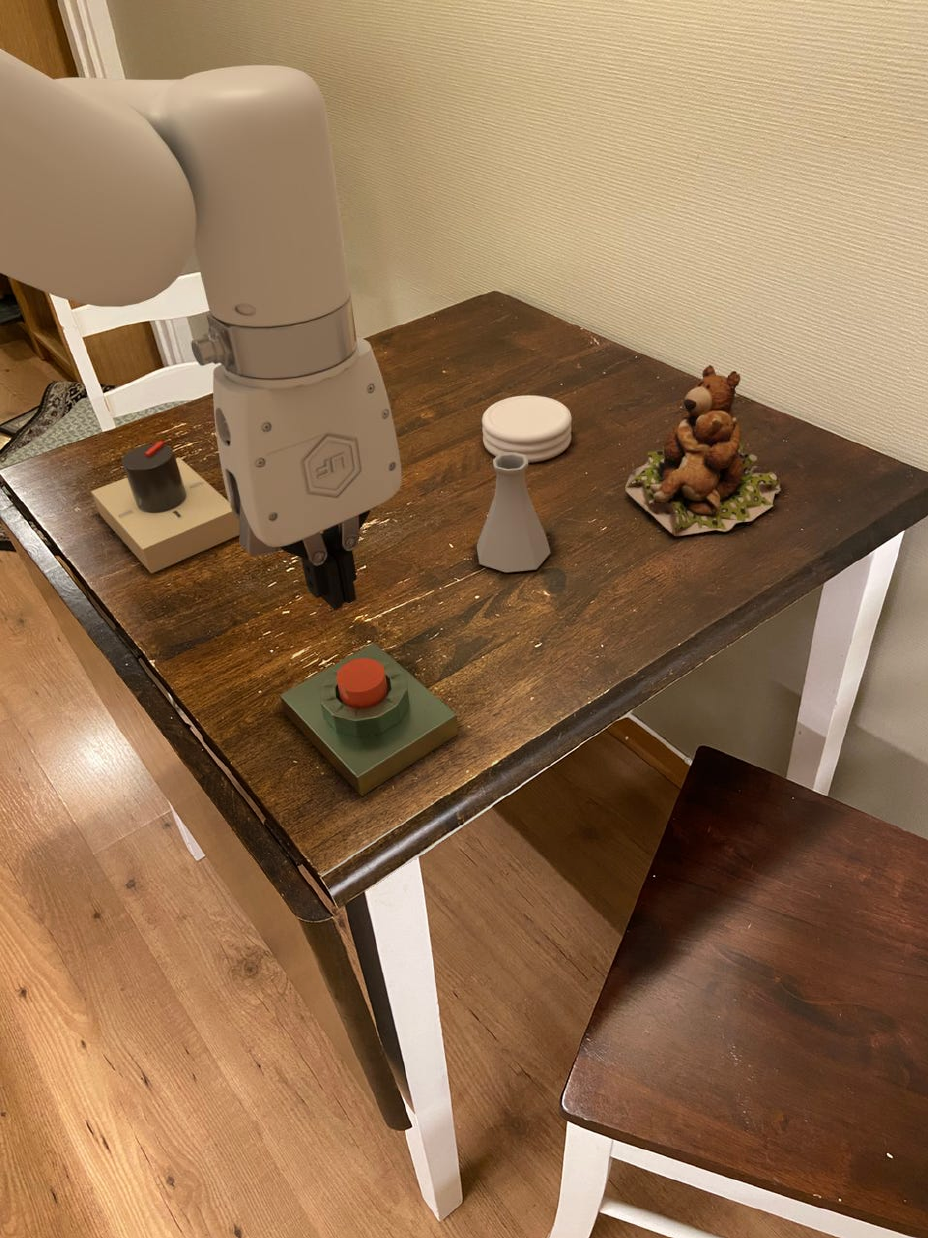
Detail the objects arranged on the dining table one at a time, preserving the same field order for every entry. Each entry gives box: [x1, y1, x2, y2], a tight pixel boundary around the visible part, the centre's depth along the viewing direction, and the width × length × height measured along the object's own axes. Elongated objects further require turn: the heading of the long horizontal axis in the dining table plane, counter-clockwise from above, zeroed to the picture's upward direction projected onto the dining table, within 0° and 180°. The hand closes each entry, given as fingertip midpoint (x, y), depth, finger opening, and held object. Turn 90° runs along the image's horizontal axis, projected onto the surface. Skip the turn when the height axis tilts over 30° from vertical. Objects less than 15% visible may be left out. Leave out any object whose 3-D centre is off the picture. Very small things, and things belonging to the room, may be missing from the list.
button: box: [337, 658, 388, 708], centre depth 66 cm, size 4×4×2 cm
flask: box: [476, 452, 551, 573], centre depth 81 cm, size 7×7×10 cm
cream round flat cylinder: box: [481, 395, 573, 464], centre depth 99 cm, size 10×10×4 cm
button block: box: [279, 642, 460, 797], centre depth 67 cm, size 11×9×4 cm
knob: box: [121, 441, 186, 513], centre depth 88 cm, size 5×5×5 cm
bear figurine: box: [625, 364, 782, 537], centre depth 86 cm, size 14×15×12 cm
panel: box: [90, 457, 240, 574], centre depth 91 cm, size 14×10×3 cm
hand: (334, 595), depth 60 cm, fingers closed
